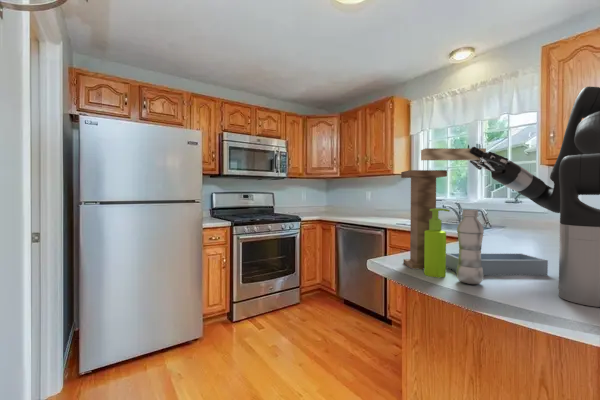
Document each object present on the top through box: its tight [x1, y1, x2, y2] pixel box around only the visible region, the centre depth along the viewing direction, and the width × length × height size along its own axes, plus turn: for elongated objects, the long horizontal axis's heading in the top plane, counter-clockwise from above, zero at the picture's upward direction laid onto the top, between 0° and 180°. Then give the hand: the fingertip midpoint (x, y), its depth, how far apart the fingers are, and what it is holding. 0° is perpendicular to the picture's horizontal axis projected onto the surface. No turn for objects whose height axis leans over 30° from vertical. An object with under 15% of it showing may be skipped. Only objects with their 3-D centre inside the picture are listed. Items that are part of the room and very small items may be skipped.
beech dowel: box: [420, 147, 487, 161], centre depth 99 cm, size 20×4×4 cm, turn 90°
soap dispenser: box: [423, 207, 451, 278], centre depth 89 cm, size 6×7×20 cm
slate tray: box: [446, 252, 549, 276], centre depth 94 cm, size 26×11×4 cm, turn 90°
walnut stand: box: [400, 169, 448, 270], centre depth 99 cm, size 12×8×32 cm, turn 90°
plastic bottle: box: [455, 209, 485, 285], centre depth 80 cm, size 6×7×20 cm
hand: (468, 150), depth 99 cm, fingers closed on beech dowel, 3 cm apart
